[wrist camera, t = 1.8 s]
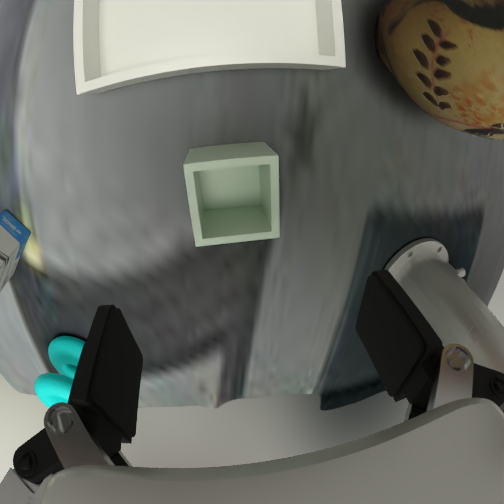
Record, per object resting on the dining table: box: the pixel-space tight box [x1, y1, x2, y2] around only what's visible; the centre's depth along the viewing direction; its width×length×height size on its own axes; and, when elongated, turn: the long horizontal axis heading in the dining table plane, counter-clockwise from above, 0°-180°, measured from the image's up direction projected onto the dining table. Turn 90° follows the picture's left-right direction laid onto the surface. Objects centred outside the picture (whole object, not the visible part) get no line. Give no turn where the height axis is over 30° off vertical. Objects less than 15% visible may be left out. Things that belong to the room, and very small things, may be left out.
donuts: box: [34, 336, 85, 408], centre depth 31 cm, size 10×10×10 cm
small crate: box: [183, 141, 279, 247], centre depth 23 cm, size 6×6×6 cm
